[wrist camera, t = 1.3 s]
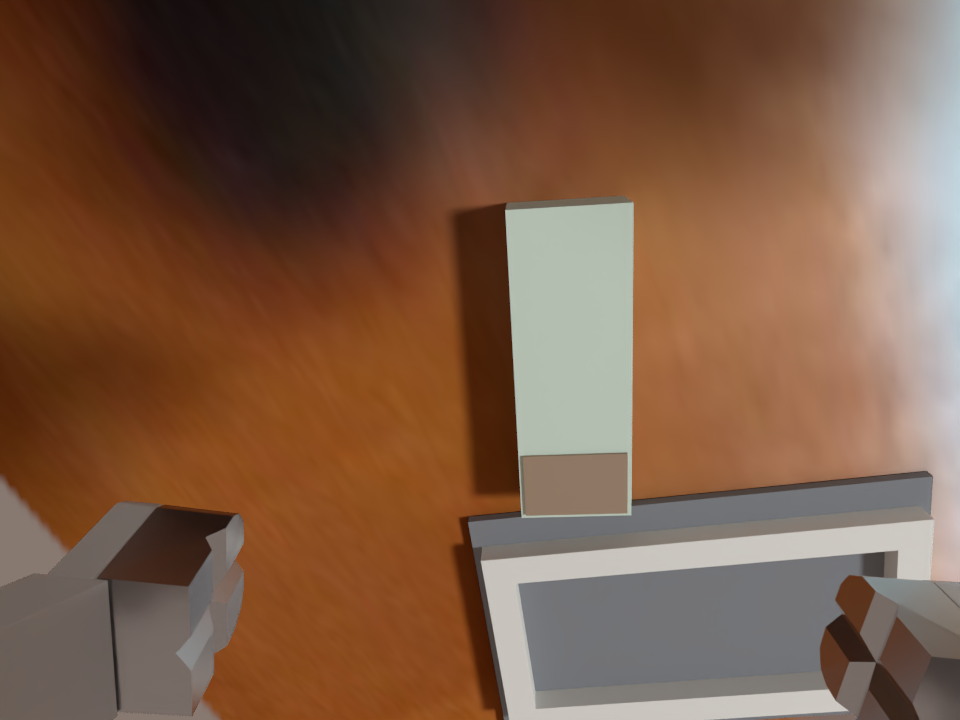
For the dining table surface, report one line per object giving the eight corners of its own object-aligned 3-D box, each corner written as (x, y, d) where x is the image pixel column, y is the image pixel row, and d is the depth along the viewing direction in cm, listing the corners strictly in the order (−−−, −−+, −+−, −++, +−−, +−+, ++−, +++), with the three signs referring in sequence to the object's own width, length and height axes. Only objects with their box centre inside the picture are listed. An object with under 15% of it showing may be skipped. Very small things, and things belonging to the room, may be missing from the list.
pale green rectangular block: (623, 194, 29) (633, 202, 26) (622, 482, 34) (631, 517, 31) (507, 201, 30) (505, 210, 27) (521, 485, 34) (521, 519, 31)
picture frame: (927, 471, 32) (948, 489, 30) (912, 701, 37) (930, 728, 35) (468, 516, 34) (465, 535, 33) (507, 727, 39) (506, 753, 37)
